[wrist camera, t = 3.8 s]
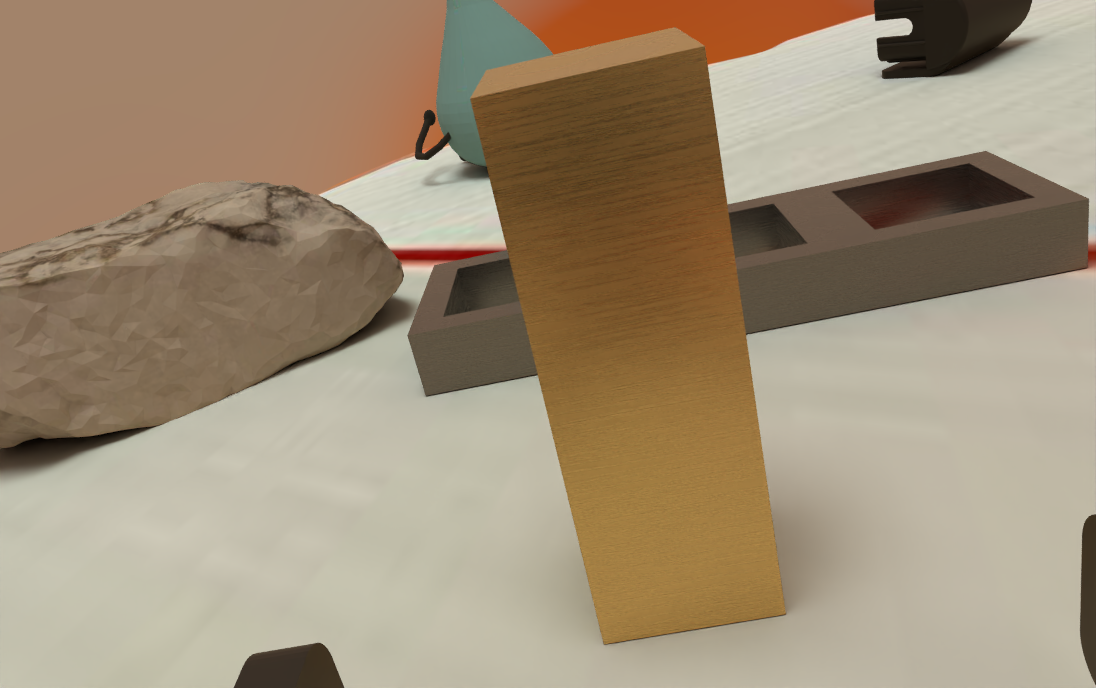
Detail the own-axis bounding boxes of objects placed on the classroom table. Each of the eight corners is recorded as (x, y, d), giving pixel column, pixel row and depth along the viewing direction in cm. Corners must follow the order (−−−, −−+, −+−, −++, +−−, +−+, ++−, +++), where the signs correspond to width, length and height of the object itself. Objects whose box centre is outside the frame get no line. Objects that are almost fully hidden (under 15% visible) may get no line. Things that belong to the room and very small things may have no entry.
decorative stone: (-48, 488, 32) (-133, 207, 31) (-29, 445, 44) (-91, 240, 42) (444, 352, 42) (395, 133, 40) (352, 347, 53) (311, 176, 52)
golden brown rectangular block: (603, 644, 20) (469, 98, 15) (596, 537, 24) (486, 69, 19) (785, 614, 20) (704, 46, 15) (748, 509, 23) (675, 26, 19)
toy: (562, 130, 78) (524, -57, 72) (640, 137, 68) (603, -78, 62) (406, 181, 72) (350, -18, 66) (466, 197, 62) (407, -34, 57)
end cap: (968, 77, 63) (965, -26, 60) (875, 82, 68) (869, -13, 66) (1034, 44, 68) (1034, -52, 66) (943, 50, 74) (939, -38, 71)
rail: (425, 395, 34) (407, 335, 33) (448, 316, 41) (434, 265, 40) (1087, 267, 32) (1089, 199, 31) (987, 207, 39) (986, 150, 38)
